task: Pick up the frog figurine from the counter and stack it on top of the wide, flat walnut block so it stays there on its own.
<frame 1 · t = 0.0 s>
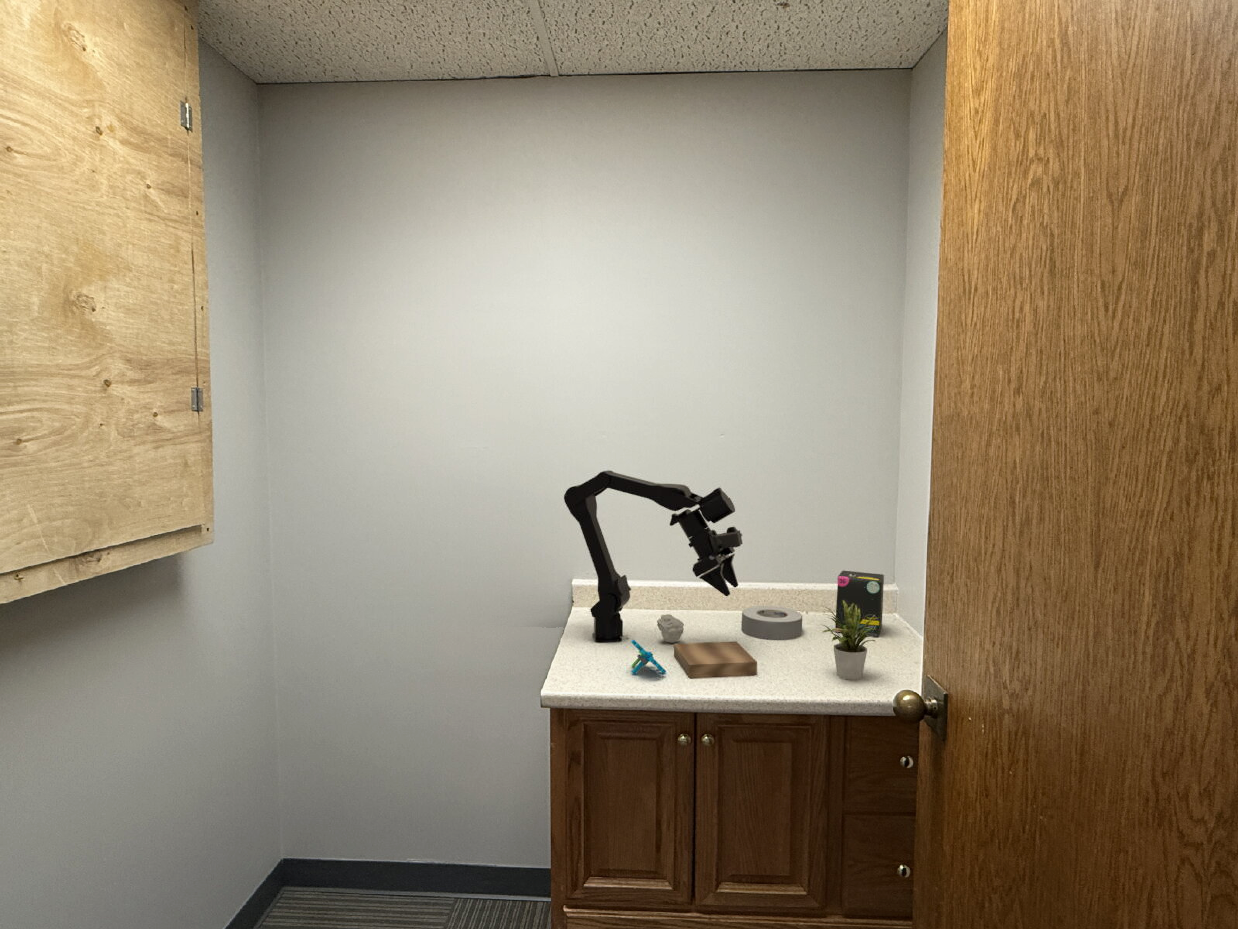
hand: (732, 590, 187), 15 cm above the worktop, tool tilted 35°, fingers open, 9 cm apart
walnut block: (713, 667, 180), on the worktop
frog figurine: (670, 643, 196), on the worktop
house plant: (844, 674, 175), on the worktop
tape roll: (771, 633, 207), on the worktop
gear: (647, 673, 175), on the worktop
tampon box: (858, 631, 208), on the worktop
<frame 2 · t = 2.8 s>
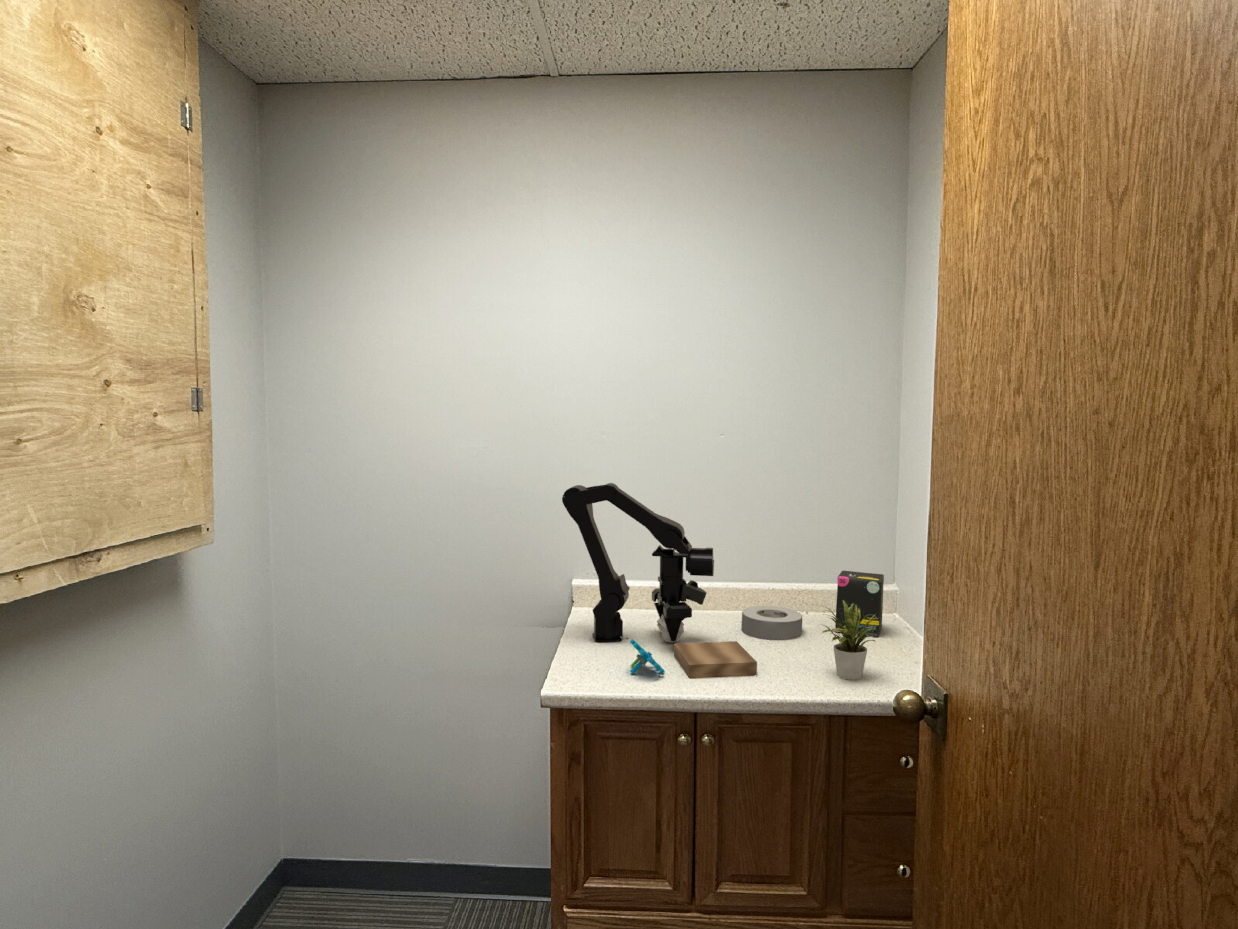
hand: (670, 637, 196), 1 cm above the worktop, tool pointing down, fingers closed on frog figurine, 6 cm apart
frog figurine: (670, 643, 196), on the worktop, touching gripper
everything else where it was.
when the fingers open (5 cm above the worktop, at t = 8.6 s): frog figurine drops 1 cm, point 3 cm above the worktop.
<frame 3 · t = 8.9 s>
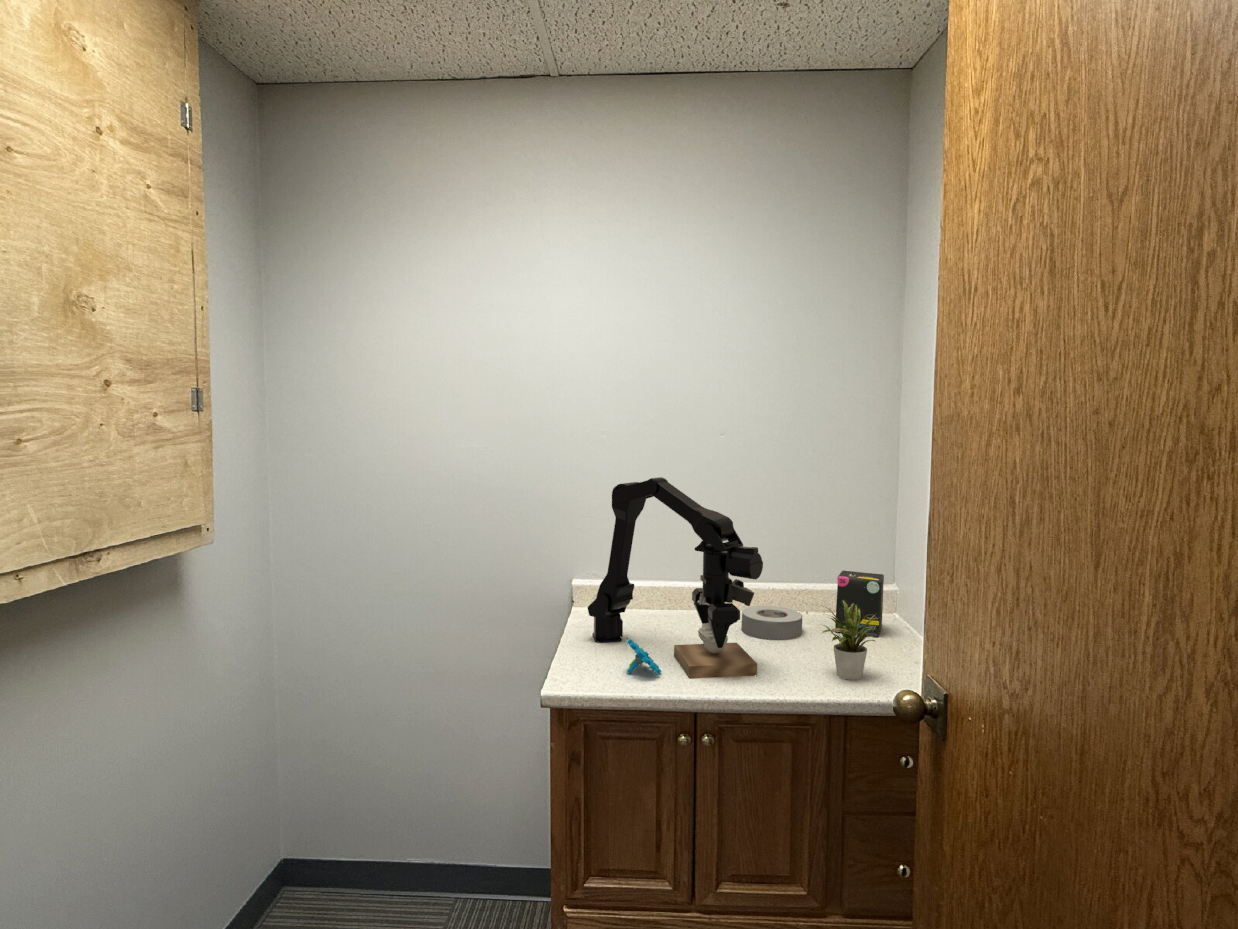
hand: (714, 641, 179), 5 cm above the worktop, tool pointing down, fingers open, 9 cm apart
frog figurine: (714, 654, 179), point 3 cm above the worktop
everything else where it was.
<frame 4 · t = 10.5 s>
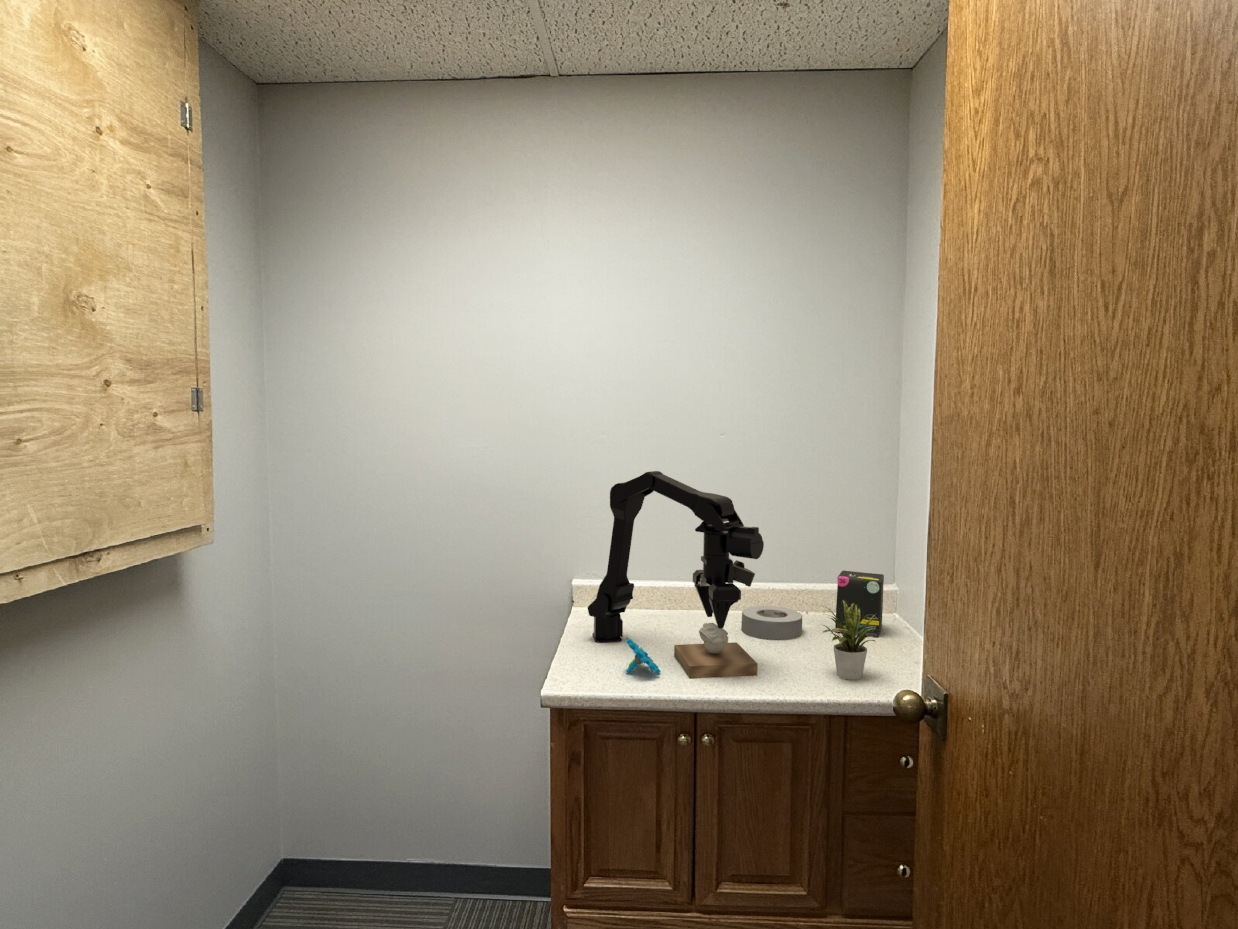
hand: (715, 622, 179), 10 cm above the worktop, tool pointing down, fingers open, 9 cm apart
walnut block: (714, 669, 180), on the worktop, touching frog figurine
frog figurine: (713, 654, 179), point 3 cm above the worktop, touching walnut block
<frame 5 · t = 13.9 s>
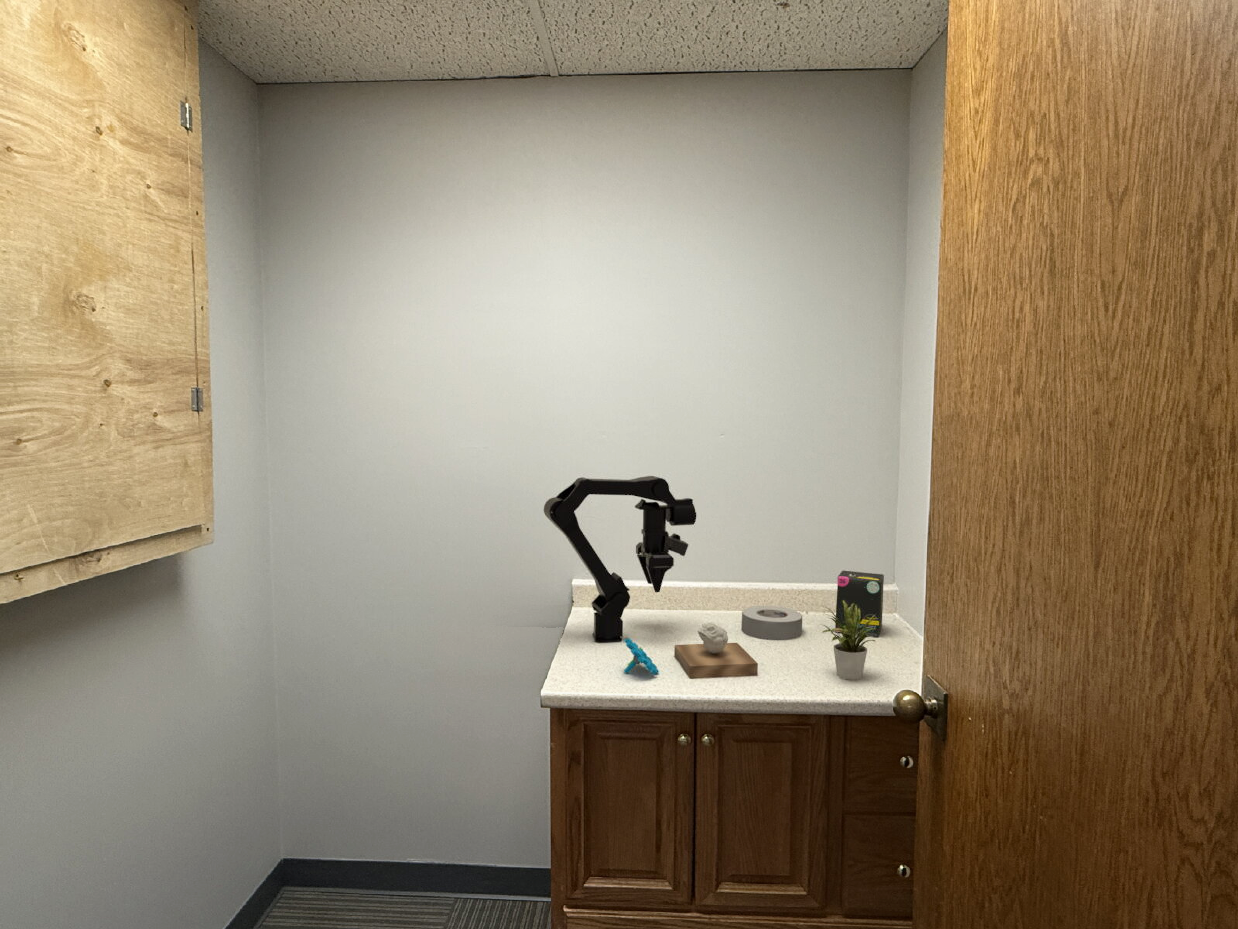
hand: (653, 587, 202), 12 cm above the worktop, tool pointing down, fingers open, 9 cm apart
at the end: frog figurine inside the target area on the walnut block (0.2 cm from its centre), point 3.4 cm above the walnut block's base; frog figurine touching walnut block; the gripper is holding nothing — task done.
